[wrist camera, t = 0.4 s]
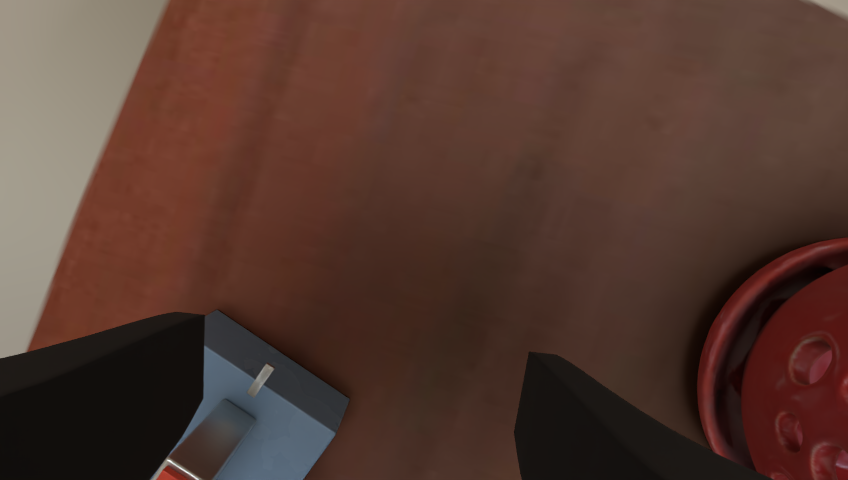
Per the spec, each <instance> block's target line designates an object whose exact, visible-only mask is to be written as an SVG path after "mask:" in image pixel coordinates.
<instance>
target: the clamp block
mask: <svg viewBox="0 0 848 480" xmlns="http://www.w3.org/2000/svg"><path fill="white" fill-rule="evenodd" d="M224 399H226V400H227V401H229V402H230V403H232V404H233V405H235V406H236V407H238V408H239V409H241V410H242V411H244V412H245V413H247V414H248V415H250V416H251V417H253V418H254V419H256V423H255V424H254V426H253V427H252V429H251V430H250V432H249V433H248V434H247V436H246V437H245V439H244V440H243V442H242V443H241V445H240V446H239V447H238V449H237V450H236V452H235V453H234V455H233V456H232V457H231V459H230V460H229V462H228V463H227V465H226V466H225V468H224V469H223V470H222V472H221V473H220V475H219V476H218V478H217V479H216V480H303V479H304V478H305V476H306V475H307V474H308V472H309V471H310V470H311V468H312V467H313V465H314V464H315V463H316V461H317V460H318V459H319V457H320V456H321V454H322V453H323V452H324V450H325V449H326V447H327V446H328V445H329V443H330V442H331V441H332V439H333V438H334V436H335V435H336V433H337V430H338V428H339V425H340V423H341V420H342V418H343V415H344V413H345V410H346V408H347V405H348V403H349V400H350V399H349V398H347V397H346V396H344V395H343V394H341V393H340V392H338V391H337V390H335V389H334V388H333V387H331V386H330V385H328V384H327V383H325V382H324V381H322V380H321V379H319V378H318V377H316V376H315V375H313V374H312V373H310V372H309V371H307V370H306V369H304V368H303V367H301V366H300V365H298V364H297V363H295V362H294V361H292V360H291V359H290V358H288V357H287V356H285V355H284V354H282V353H281V352H279V351H278V350H276V349H275V348H273V347H272V346H270V345H269V344H267V343H266V342H264V341H263V340H261V339H260V338H258V337H257V336H255V335H254V334H252V333H251V332H250V331H248V330H247V329H245V328H244V327H242V326H241V325H239V324H238V323H236V322H235V321H233V320H232V319H230V318H229V317H227V316H226V315H224V314H223V313H221V312H220V311H218V310H215V311H213V312H212V313H210V314H208V315H207V316H205V336H204V395H203V400H202V402H201V404H200V406H199V408H198V410H197V411H196V413H195V415H194V417H193V419H192V421H191V422H190V424H189V426H188V427H187V429H186V431H185V433H184V434H183V436H182V438H181V439H180V440H179V442H178V443H177V444H176V446H175V447H174V449H175V448H176V447H177V446H178V445H179V444H180V443H181V442H182V441H183V440H184V439H185V438H186V437H187V436H188V435H189V434H190V433H191V432H192V431H193V430H194V429H195V428H196V427H197V426H198V425H199V424H200V423H201V422H202V421H203V420H204V419H205V418H206V417H207V416H208V415H209V414H210V412H211V411H212V410H213V409H214V408H215V407H216V406H217V405H218V404H219V403H220V402H221V401H222V400H224ZM174 449H173V450H174ZM173 450H172V451H173ZM172 451H171V452H172ZM171 452H170V453H171ZM167 457H168V456H167ZM161 465H162V464H161ZM159 468H160V467H159ZM159 468H158V469H159ZM157 471H158V470H157ZM157 471H156V472H157ZM156 472H155V474H156ZM155 474H154V475H155ZM154 475H153V476H152V477H151V479H150V480H152V478H153V477H154Z"/></svg>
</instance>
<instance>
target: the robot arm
mask: <svg viewBox="0 0 848 480" xmlns="http://www.w3.org/2000/svg"><path fill="white" fill-rule="evenodd" d="M204 336H205V315H199V314H191V313H182V312H173V313H167V314H162V315H158V316H154V317H150V318H146V319H143V320H139V321H136V322H132V323H129V324H125V325H122V326H119V327H115V328H112V329H109V330H105V331H102V332H99V333H95V334H92V335H89V336H85V337H82V338H78V339H74V340H71V341H67V342H63V343H60V344H56V345H52V346H49V347H45V348H41V349H38V350H34V351H30V352H26V353H22V354H18V355H14V356H9V357H5V358H0V480H150V479H151V477H152V476H153V475H154V474H155V472H156V471H157V470H158V468H159V467H160V466H161V464H162V463H163V462H164V460H165V459H166V458H167V456H168V455H169V454H170V452H171V451H172V450H173V449H174V447H175V446H176V444H177V443H178V442H179V440H180V439H181V438H182V436H183V434H184V433H185V431H186V429H187V427H188V426H189V424H190V422H191V421H192V419H193V417H194V415H195V413H196V411H197V410H198V408H199V406H200V404H201V402H202V400H203V395H204ZM514 435H515V442H516V449H517V456H518V462H519V468H520V474H521V477H522V480H774V479H772V478H769V477H767V476H765V475H763V474H760V473H758V472H756V471H754V470H751V469H749V468H747V467H744V466H742V465H740V464H738V463H735V462H733V461H731V460H729V459H727V458H725V457H723V456H721V455H719V454H717V453H715V452H713V451H711V450H709V449H707V448H705V447H703V446H701V445H699V444H697V443H696V442H694V441H692V440H690V439H688V438H686V437H684V436H682V435H680V434H679V433H677V432H675V431H673V430H672V429H670V428H668V427H666V426H665V425H663V424H661V423H660V422H658V421H657V420H655V419H653V418H652V417H650V416H649V415H647V414H645V413H644V412H642V411H640V410H639V409H637V408H636V407H634V406H633V405H631V404H630V403H628V402H627V401H625V400H624V399H622V398H621V397H619V396H618V395H616V394H615V393H613V392H612V391H610V390H609V389H608V388H606V387H605V386H603V385H602V384H600V383H599V382H598V381H596V380H595V379H593V378H592V377H590V376H589V375H588V374H586V373H585V372H583V371H582V370H581V369H579V368H578V367H576V366H575V365H573V364H572V363H570V362H569V361H567V360H565V359H564V358H562V357H560V356H558V355H554V354H545V353H536V352H529V355H528V360H527V366H526V371H525V376H524V382H523V387H522V392H521V398H520V403H519V408H518V414H517V419H516V424H515V430H514Z"/></svg>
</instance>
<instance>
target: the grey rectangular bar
mask: <svg viewBox="0 0 848 480" xmlns="http://www.w3.org/2000/svg"><path fill="white" fill-rule="evenodd" d="M255 423H256V419H254V418H253V417H251V416H250V415H248V414H247V413H245V412H244V411H242V410H241V409H239V408H238V407H236V406H235V405H233V404H232V403H230V402H229V401H227V400H226V399H224V400H222V401H221V402H220V403H219V404H218V405H217V406H216V407H215V408H214V409H213V410H212V411H211V412H210V414H209V415H208V416H207V417H206V418H205V419H204V420H203V421H202V422H201V423H200V424H199V425H198V426H197V427H196V428H195V429H194V430H193V431H192V432H191V433H190V434H189V435H188V436H187V437H186V438H185V439H184V440H183V441H182V442H181V443H180V444H179V445H178V446H177V447H176V448H175V449H174V450H173V451H172V452H171V453H170V454H169V455H168V457H167V458H166V459H165V460H164V462H163V463H162V465H161V466H160V468H159V469H158V471H157V472H156V474H155V475H154V477H153V478H152V480H216V479H217V478H218V476H219V475H220V473H221V472H222V470H223V469H224V468H225V466H226V465H227V463H228V462H229V460H230V459H231V457H232V456H233V455H234V453H235V452H236V450H237V449H238V447H239V446H240V445H241V443H242V442H243V440H244V439H245V437H246V436H247V434H248V433H249V432H250V430H251V429H252V427H253V426H254V424H255Z"/></svg>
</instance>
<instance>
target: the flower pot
mask: <svg viewBox="0 0 848 480" xmlns="http://www.w3.org/2000/svg"><path fill="white" fill-rule="evenodd" d="M697 397H698V408H699V414H700V419H701V423H702V427H703V430H704V433H705V436H706V438H707V440H708V443H709V445H710V447H711V449H712V450H713V452H715V453H717V454H719V455H721V456H723V457H725V458H727V459H729V460H731V461H733V462H735V463H738V464H740V465H742V466H744V467H747V468H749V469H751V470H754V471H756V472H758V473H760V474H763V475H765V476H767V477H769V478H772V479H774V480H848V238H838V239H832V240H826V241H821V242H817V243H814V244H811V245H807V246H804V247H801V248H798V249H796V250H793V251H790V252H789V253H787V254H785V255H783V256H781V257H779V258H777V259H775V260H774V261H772V262H770V263H769V264H767V265H766V266H764V267H763V268H761V269H760V270H758V271H757V272H756V273H755V274H753V275H752V276H751V277H750V278H749V279H747V280H746V281H745V282H744V283H743V284H742V285H741V286H740V287H739V288H738V289H737V290H736V291H735V292H734V293H733V295H732V296H731V297H730V298H729V299H728V301H727V302H726V303H725V305H724V306H723V308H722V309H721V311H720V313H719V314H718V316H717V317H716V319H715V320H714V322H713V324H712V326H711V328H710V330H709V333H708V336H707V338H706V341H705V343H704V347H703V350H702V354H701V357H700V363H699V370H698V381H697Z"/></svg>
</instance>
